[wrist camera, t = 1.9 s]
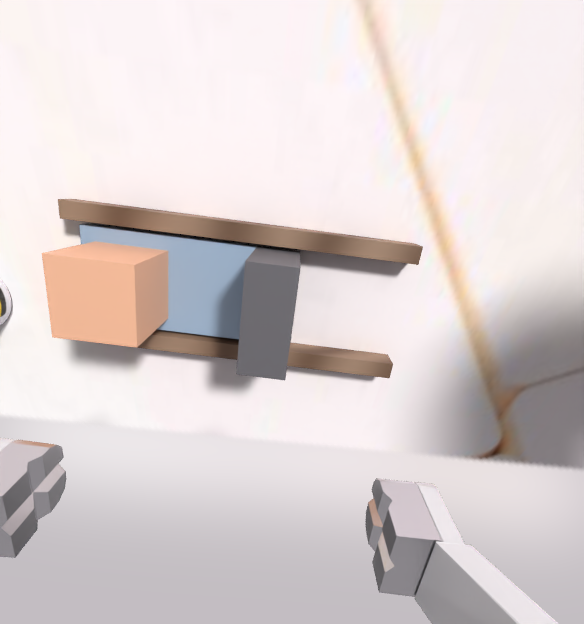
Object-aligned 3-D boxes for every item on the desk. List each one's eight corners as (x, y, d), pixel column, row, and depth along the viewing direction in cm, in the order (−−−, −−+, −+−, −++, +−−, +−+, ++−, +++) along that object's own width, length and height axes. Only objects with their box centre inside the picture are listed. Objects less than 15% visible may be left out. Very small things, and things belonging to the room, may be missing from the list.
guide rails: (414, 243, 23) (422, 246, 22) (384, 367, 27) (389, 378, 25) (73, 199, 23) (57, 199, 21) (85, 331, 26) (72, 339, 25)
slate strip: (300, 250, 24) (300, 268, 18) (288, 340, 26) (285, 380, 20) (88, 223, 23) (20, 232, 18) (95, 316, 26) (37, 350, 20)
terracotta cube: (168, 250, 23) (134, 265, 18) (168, 318, 24) (137, 347, 20) (95, 241, 23) (41, 253, 18) (100, 309, 24) (52, 337, 20)
